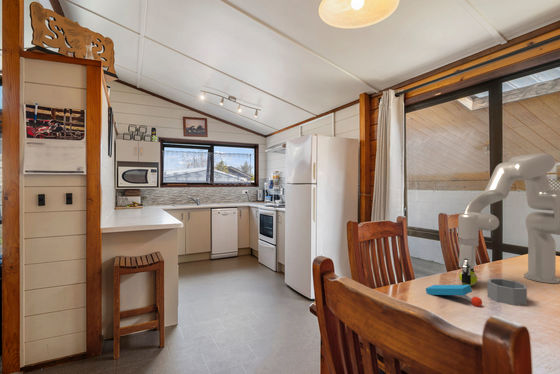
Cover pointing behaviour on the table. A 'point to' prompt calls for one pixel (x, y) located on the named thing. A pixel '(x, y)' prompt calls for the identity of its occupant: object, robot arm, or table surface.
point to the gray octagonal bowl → (507, 291)
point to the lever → (454, 292)
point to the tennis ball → (473, 278)
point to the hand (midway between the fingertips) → (468, 280)
